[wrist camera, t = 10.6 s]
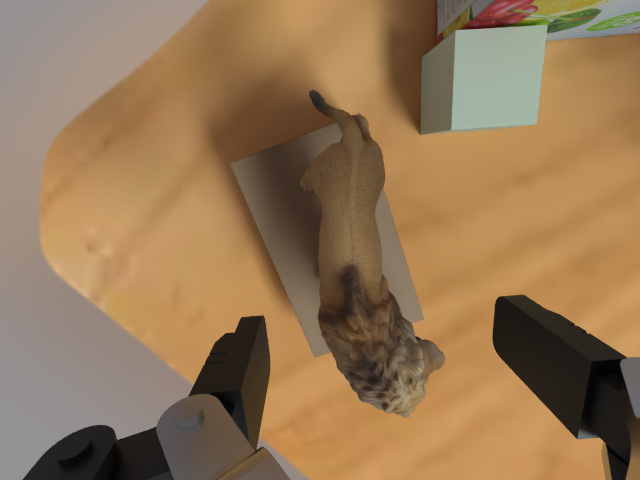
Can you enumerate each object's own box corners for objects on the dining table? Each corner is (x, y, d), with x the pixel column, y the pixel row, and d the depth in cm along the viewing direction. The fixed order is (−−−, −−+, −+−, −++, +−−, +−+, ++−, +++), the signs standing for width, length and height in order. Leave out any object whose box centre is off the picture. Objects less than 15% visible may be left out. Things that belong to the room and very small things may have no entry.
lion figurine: (405, 310, 21) (475, 420, 13) (330, 331, 21) (348, 453, 13) (355, 79, 17) (407, 7, 9) (262, 107, 17) (221, 62, 9)
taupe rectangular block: (348, 121, 23) (360, 113, 18) (402, 288, 26) (423, 319, 21) (245, 161, 23) (229, 163, 18) (312, 320, 27) (314, 357, 22)
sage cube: (493, 53, 22) (547, 24, 17) (487, 130, 23) (536, 124, 18) (421, 57, 21) (455, 30, 17) (419, 134, 23) (451, 129, 18)
